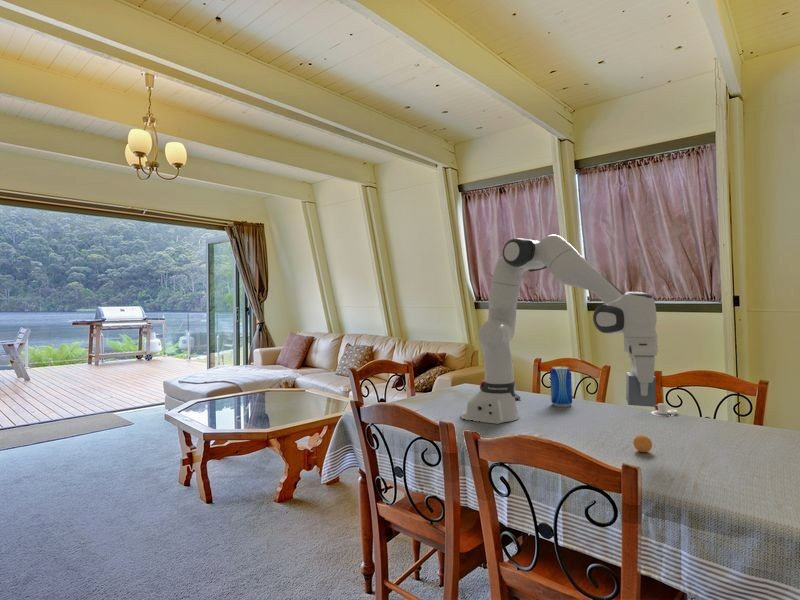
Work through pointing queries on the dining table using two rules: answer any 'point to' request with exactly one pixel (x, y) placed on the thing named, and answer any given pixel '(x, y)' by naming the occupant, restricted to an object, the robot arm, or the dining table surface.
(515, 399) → the woven mat
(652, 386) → the grey rectangular block
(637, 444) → the ball
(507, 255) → the robot arm
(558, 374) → the beer can
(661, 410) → the teacup and saucer
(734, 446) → the dining table surface
